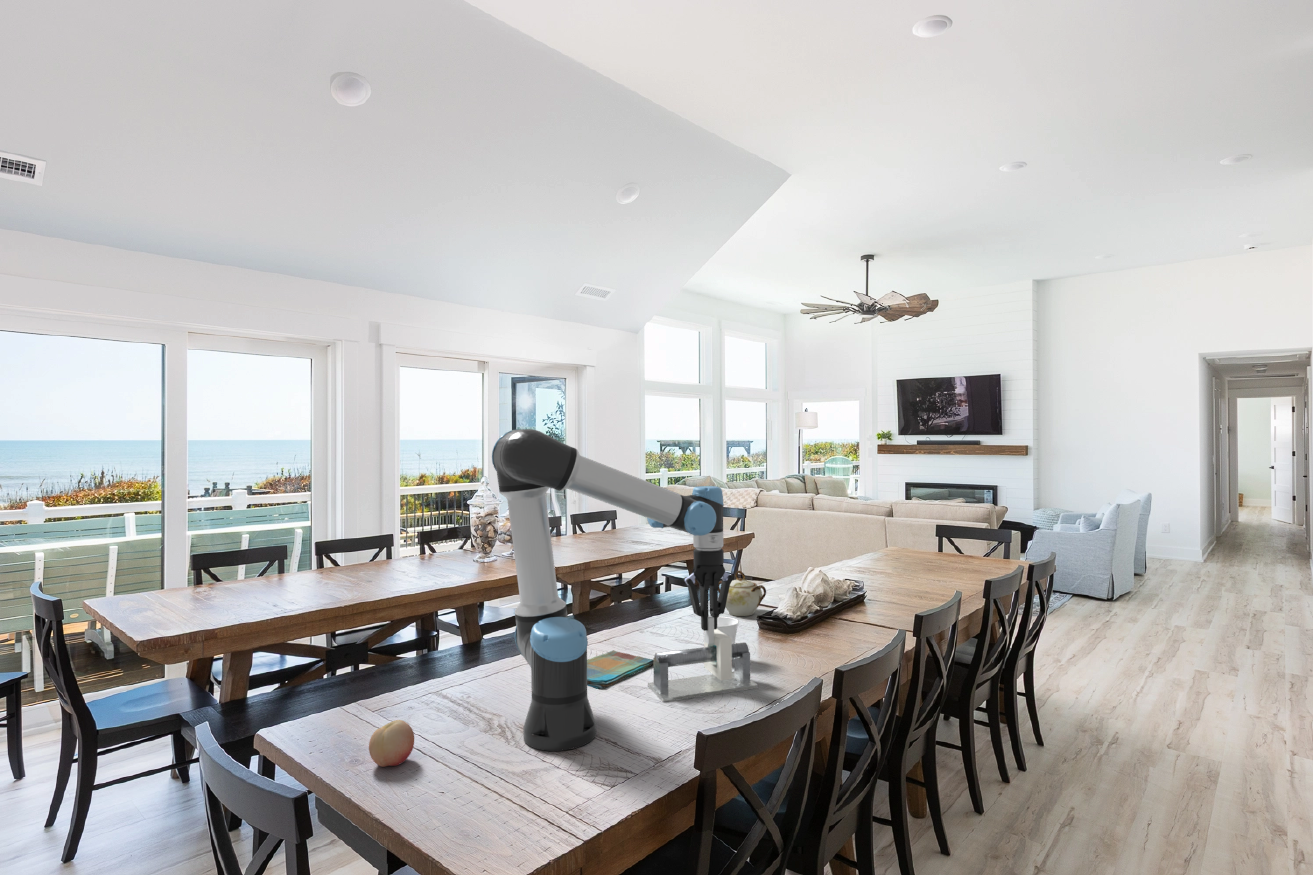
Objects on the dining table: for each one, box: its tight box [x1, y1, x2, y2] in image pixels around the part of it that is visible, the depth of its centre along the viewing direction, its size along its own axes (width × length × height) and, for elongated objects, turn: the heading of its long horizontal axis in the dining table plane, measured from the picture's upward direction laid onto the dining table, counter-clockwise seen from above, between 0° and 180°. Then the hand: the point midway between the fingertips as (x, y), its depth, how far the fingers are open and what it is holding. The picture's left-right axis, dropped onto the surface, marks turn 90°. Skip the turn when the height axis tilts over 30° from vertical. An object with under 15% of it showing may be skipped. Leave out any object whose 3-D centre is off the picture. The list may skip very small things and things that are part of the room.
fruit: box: [368, 719, 415, 768], centre depth 135 cm, size 8×8×8 cm
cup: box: [717, 616, 740, 644], centre depth 195 cm, size 10×10×11 cm
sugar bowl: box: [718, 570, 767, 617], centre depth 245 cm, size 20×15×15 cm
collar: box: [703, 629, 733, 680], centre depth 176 cm, size 3×10×10 cm, turn 19°
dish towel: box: [587, 650, 653, 690], centre depth 188 cm, size 17×23×2 cm
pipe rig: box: [647, 642, 759, 703], centre depth 174 cm, size 25×11×10 cm, turn 110°
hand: (709, 642), depth 175 cm, fingers closed
